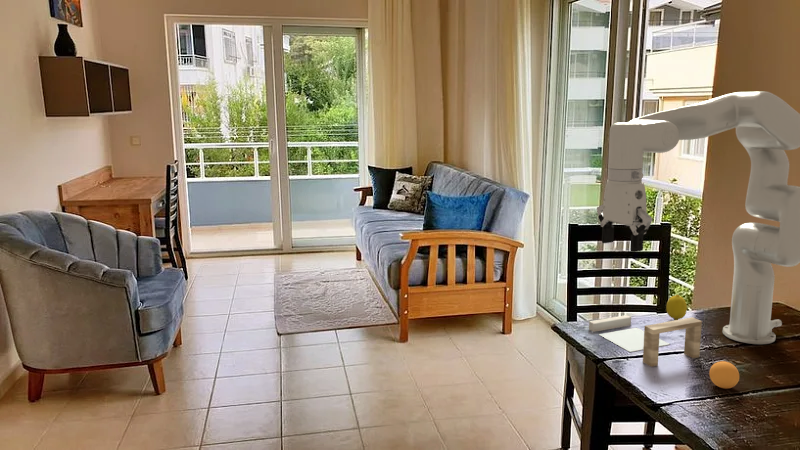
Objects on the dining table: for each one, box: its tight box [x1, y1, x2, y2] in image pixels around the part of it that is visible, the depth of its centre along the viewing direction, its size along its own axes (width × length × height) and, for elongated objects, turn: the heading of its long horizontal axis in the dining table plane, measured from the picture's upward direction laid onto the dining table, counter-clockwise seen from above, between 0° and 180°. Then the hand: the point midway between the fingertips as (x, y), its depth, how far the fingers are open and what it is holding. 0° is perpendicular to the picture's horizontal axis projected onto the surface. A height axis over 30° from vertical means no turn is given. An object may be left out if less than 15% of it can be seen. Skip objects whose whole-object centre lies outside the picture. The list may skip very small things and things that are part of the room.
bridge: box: [642, 316, 703, 368], centre depth 149 cm, size 3×15×10 cm, turn 108°
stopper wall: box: [588, 314, 632, 333], centre depth 172 cm, size 13×2×2 cm, turn 108°
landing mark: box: [598, 327, 671, 353], centre depth 163 cm, size 13×13×1 cm
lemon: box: [665, 294, 688, 321], centre depth 175 cm, size 6×6×8 cm
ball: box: [708, 360, 740, 389], centre depth 134 cm, size 6×6×6 cm
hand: (621, 246), depth 142 cm, fingers open, 9 cm apart
